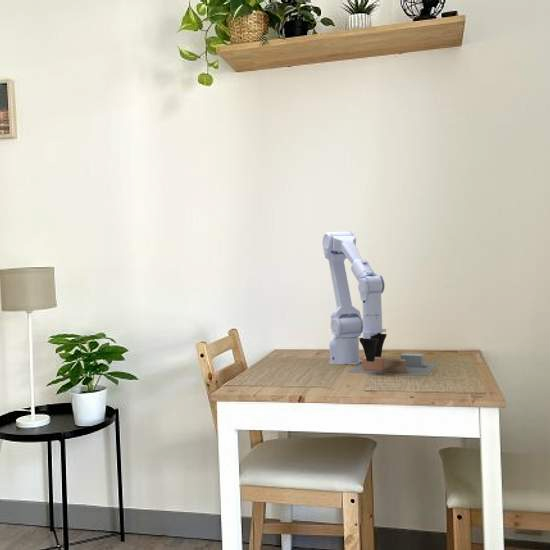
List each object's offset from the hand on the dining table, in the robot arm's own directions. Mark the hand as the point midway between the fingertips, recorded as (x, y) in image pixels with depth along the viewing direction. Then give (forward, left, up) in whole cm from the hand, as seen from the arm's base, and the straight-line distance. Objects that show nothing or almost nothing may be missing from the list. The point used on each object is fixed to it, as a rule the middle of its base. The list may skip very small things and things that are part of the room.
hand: (373, 359), depth 191 cm
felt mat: (+5, +4, -4) cm, 7 cm away
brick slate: (+10, +8, -3) cm, 13 cm away
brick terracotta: (0, 0, -3) cm, 3 cm away
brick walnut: (+7, -3, -3) cm, 8 cm away
